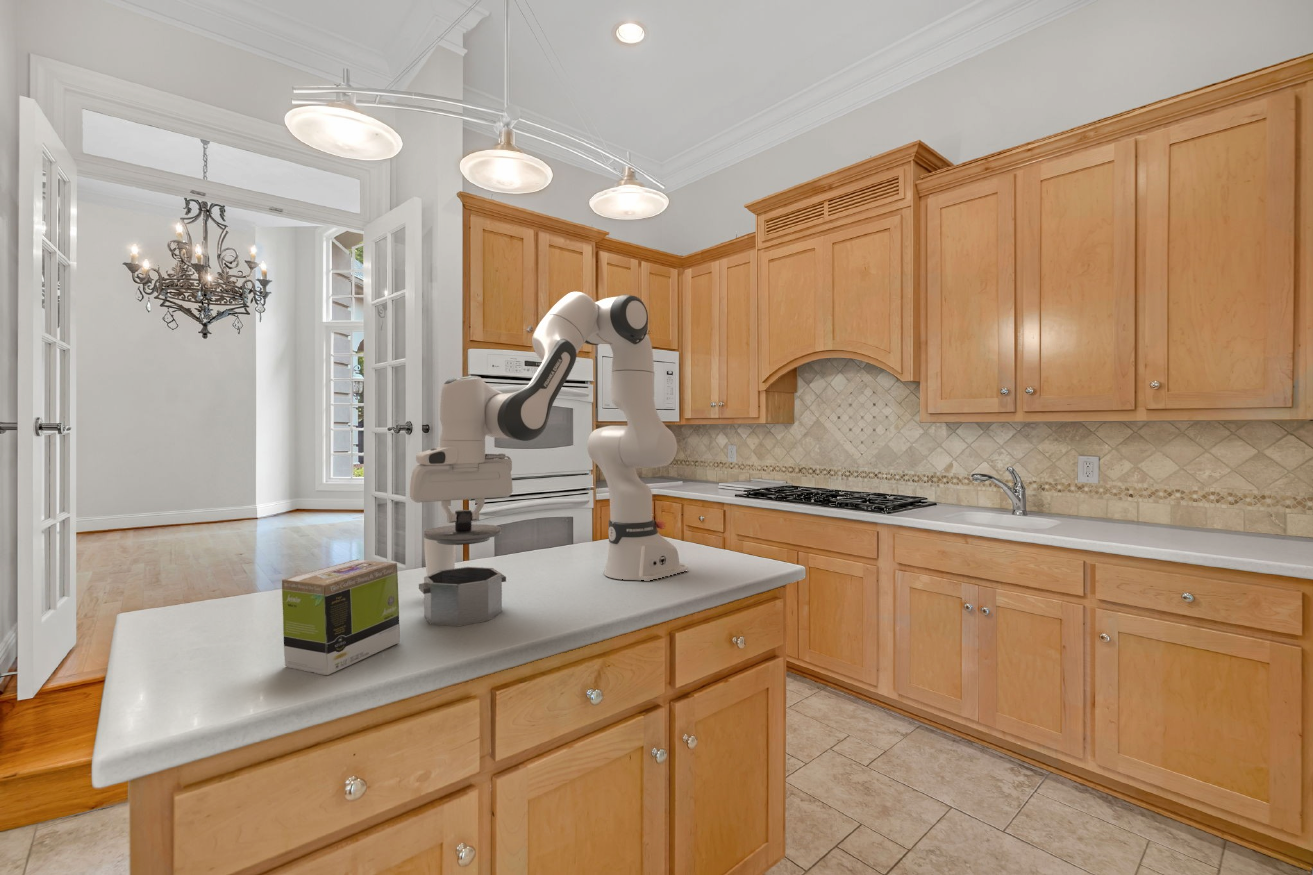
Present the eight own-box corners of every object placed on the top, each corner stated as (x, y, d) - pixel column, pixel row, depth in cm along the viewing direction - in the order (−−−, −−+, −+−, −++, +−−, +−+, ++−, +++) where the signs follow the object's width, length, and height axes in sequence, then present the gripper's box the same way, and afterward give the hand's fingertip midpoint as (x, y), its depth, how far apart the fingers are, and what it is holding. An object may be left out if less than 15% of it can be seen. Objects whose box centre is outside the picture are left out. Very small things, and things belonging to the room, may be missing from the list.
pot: (492, 598, 132) (491, 563, 132) (514, 615, 121) (514, 577, 120) (413, 611, 123) (413, 573, 123) (429, 631, 111) (429, 589, 111)
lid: (488, 531, 132) (488, 504, 132) (511, 541, 119) (511, 512, 119) (416, 537, 124) (416, 509, 124) (433, 550, 111) (433, 518, 111)
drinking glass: (461, 593, 137) (460, 529, 137) (448, 601, 130) (447, 534, 130) (433, 592, 138) (433, 528, 137) (419, 601, 131) (418, 533, 131)
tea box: (359, 636, 109) (358, 557, 109) (401, 644, 105) (400, 561, 105) (281, 668, 95) (280, 576, 95) (326, 677, 91) (325, 583, 91)
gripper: (506, 452, 130) (507, 515, 130) (407, 455, 118) (408, 523, 119) (517, 453, 124) (517, 519, 125) (414, 456, 113) (414, 528, 113)
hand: (463, 521), depth 121 cm, fingers closed on lid, 3 cm apart
